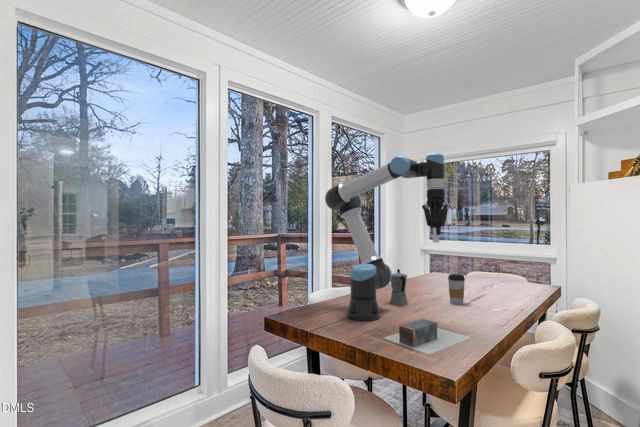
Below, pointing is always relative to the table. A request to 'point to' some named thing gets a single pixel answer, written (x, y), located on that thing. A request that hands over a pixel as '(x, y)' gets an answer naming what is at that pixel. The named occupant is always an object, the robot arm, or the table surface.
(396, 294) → the coffeepot
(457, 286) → the coffee cup
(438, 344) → the sage mat
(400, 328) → the slate block
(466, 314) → the table surface
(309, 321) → the table surface
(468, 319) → the table surface
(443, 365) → the table surface
